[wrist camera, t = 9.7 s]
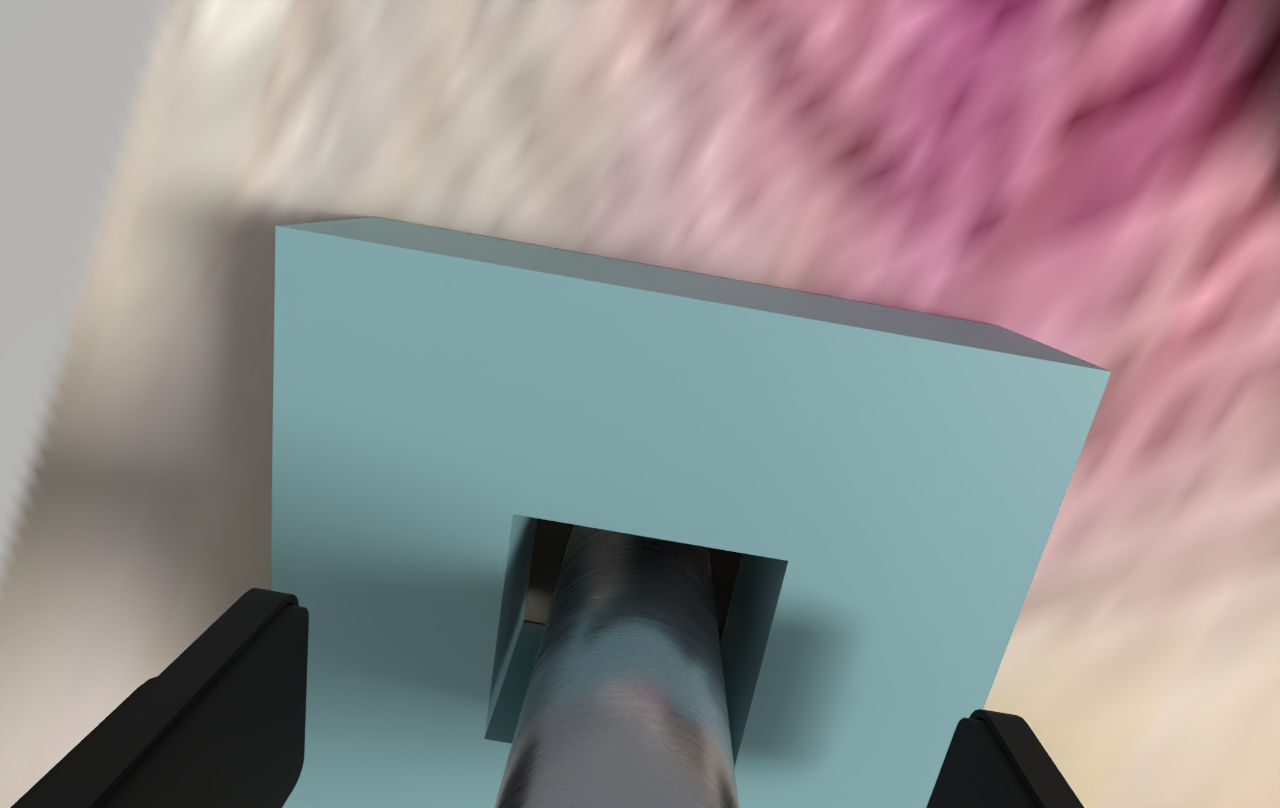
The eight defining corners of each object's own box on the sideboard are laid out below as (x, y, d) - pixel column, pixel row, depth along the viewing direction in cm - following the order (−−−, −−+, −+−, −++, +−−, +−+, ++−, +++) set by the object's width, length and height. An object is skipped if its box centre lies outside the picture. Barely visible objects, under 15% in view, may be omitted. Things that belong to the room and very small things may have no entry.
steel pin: (721, 499, 15) (824, 1088, 5) (693, 622, 15) (739, 1320, 6) (578, 476, 15) (411, 1022, 5) (560, 599, 15) (386, 1265, 6)
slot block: (999, 326, 13) (1111, 371, 10) (841, 812, 17) (884, 966, 14) (374, 217, 13) (275, 225, 10) (346, 730, 17) (266, 866, 13)
